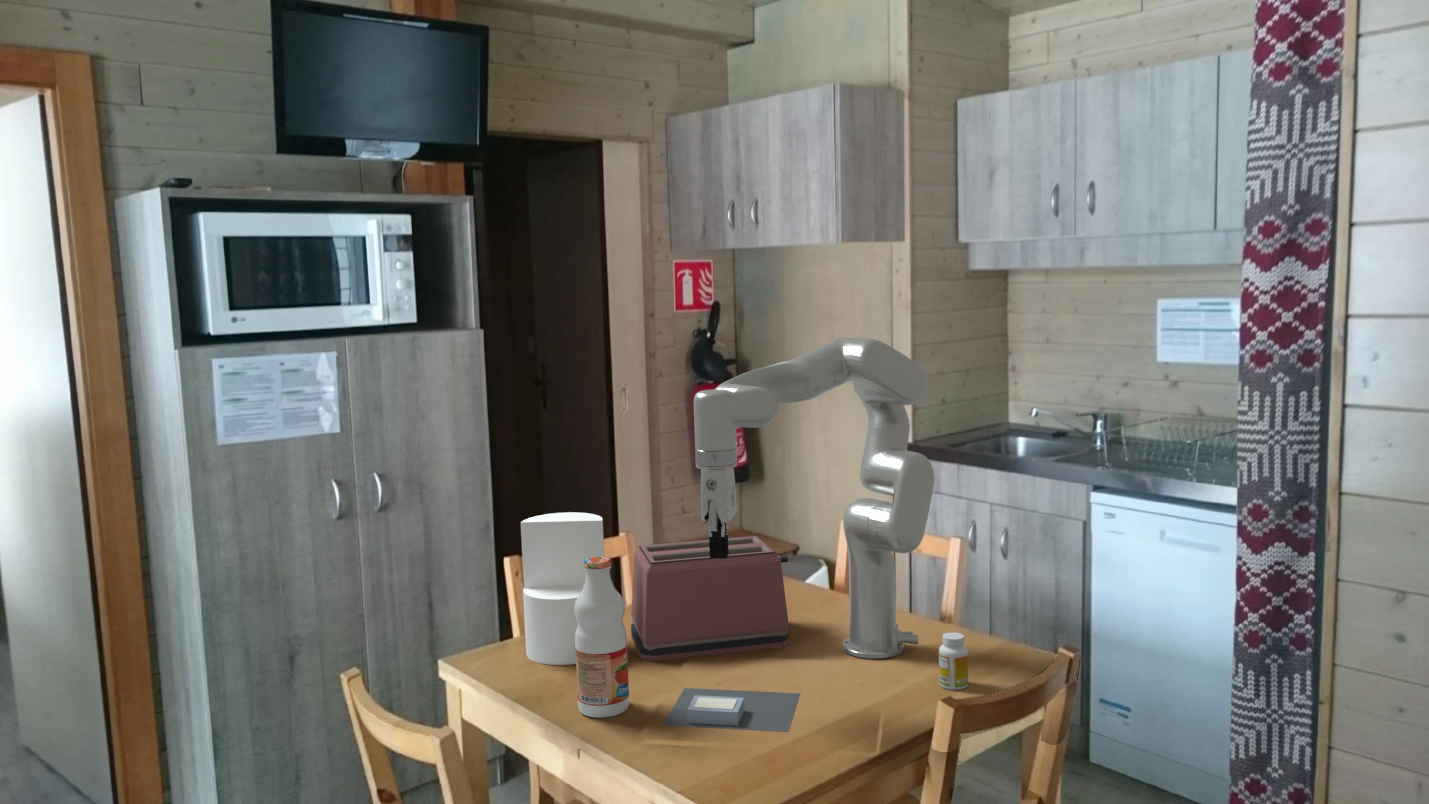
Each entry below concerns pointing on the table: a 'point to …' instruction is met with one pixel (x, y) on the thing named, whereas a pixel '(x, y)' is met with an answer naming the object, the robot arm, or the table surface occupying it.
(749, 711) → the mat
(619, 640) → the fruit juice
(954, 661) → the supplement bottle
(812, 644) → the table surface
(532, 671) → the table surface
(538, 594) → the cylinder
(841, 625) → the table surface
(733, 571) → the toaster
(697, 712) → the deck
